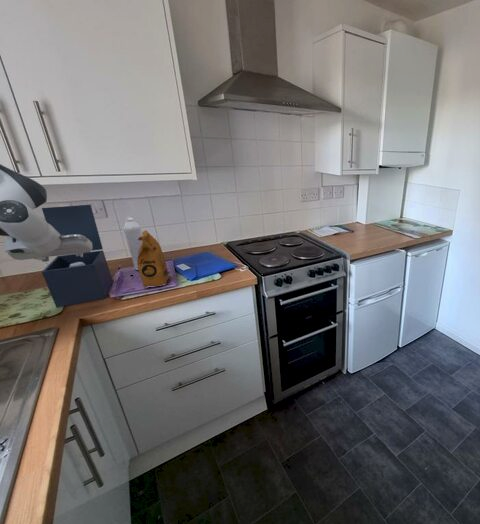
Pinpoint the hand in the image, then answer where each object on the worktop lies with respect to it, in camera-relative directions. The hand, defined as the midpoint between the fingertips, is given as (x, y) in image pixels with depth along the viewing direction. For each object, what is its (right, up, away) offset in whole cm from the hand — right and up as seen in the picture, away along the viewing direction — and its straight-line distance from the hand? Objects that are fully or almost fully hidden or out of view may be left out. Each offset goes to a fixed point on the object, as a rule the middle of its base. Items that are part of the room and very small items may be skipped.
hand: (63, 257), depth 106 cm
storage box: (-3, -14, +13) cm, 20 cm away
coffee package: (+19, -11, +23) cm, 31 cm away
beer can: (-3, -14, +13) cm, 19 cm away
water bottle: (+4, -5, +36) cm, 37 cm away
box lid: (-8, +11, +13) cm, 19 cm away
